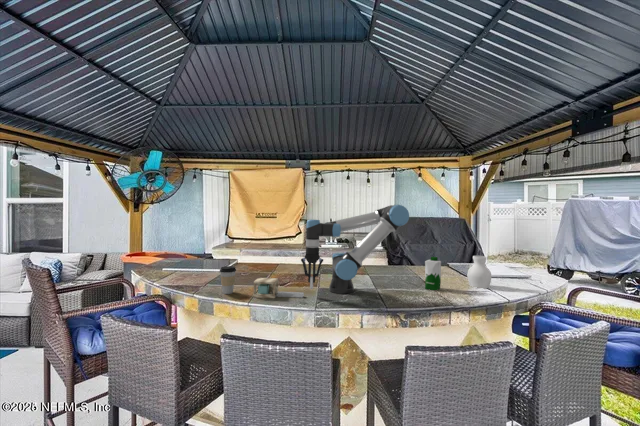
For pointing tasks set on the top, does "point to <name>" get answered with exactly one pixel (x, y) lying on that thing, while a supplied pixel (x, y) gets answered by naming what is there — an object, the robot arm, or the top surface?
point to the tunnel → (272, 287)
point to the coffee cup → (227, 279)
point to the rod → (288, 294)
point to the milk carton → (432, 274)
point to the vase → (479, 273)
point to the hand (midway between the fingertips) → (311, 288)
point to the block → (263, 289)
